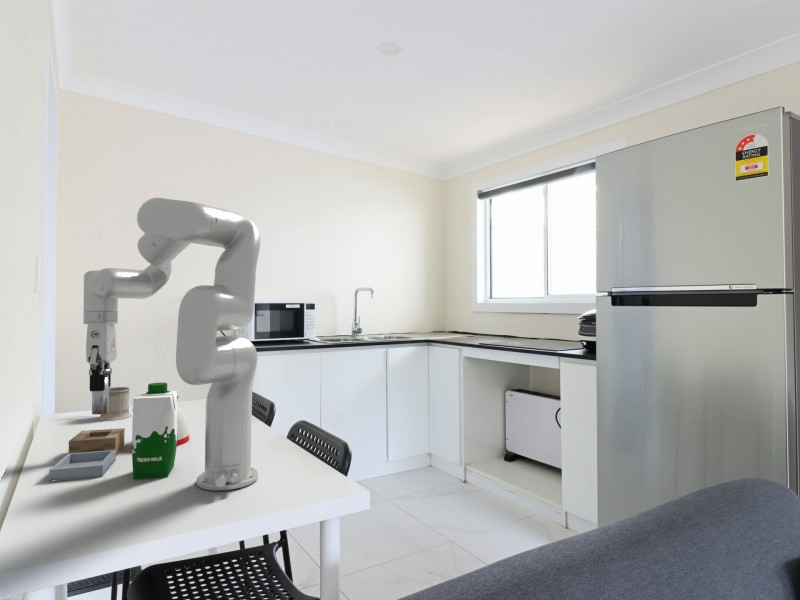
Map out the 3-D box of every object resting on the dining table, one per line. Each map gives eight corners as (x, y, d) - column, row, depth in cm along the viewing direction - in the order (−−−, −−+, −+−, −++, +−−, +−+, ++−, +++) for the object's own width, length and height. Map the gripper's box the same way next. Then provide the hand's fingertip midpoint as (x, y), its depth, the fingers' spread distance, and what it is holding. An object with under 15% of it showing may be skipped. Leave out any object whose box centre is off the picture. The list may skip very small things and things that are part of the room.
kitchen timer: (135, 439, 136) (136, 386, 136) (187, 433, 142) (188, 383, 142) (132, 452, 123) (134, 394, 124) (190, 445, 130) (191, 390, 130)
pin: (108, 414, 120) (109, 369, 120) (85, 415, 118) (86, 370, 119) (113, 410, 125) (113, 367, 125) (91, 411, 123) (92, 368, 123)
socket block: (115, 457, 118) (115, 437, 118) (68, 461, 115) (68, 441, 115) (124, 446, 128) (124, 428, 128) (81, 449, 125) (81, 430, 125)
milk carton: (178, 465, 113) (180, 381, 114) (171, 478, 105) (172, 387, 105) (138, 468, 111) (139, 382, 111) (126, 481, 102) (128, 389, 103)
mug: (137, 416, 163) (138, 381, 163) (107, 422, 155) (108, 385, 155) (115, 411, 171) (116, 378, 171) (85, 416, 162) (86, 381, 163)
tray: (102, 476, 105) (102, 465, 105) (49, 481, 102) (49, 469, 102) (115, 460, 117) (115, 449, 117) (68, 464, 113) (68, 453, 113)
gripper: (109, 318, 115) (108, 393, 115) (124, 318, 131) (124, 383, 131) (73, 319, 113) (72, 395, 112) (93, 318, 129) (93, 385, 128)
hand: (100, 388), depth 122 cm, fingers closed on pin, 4 cm apart
